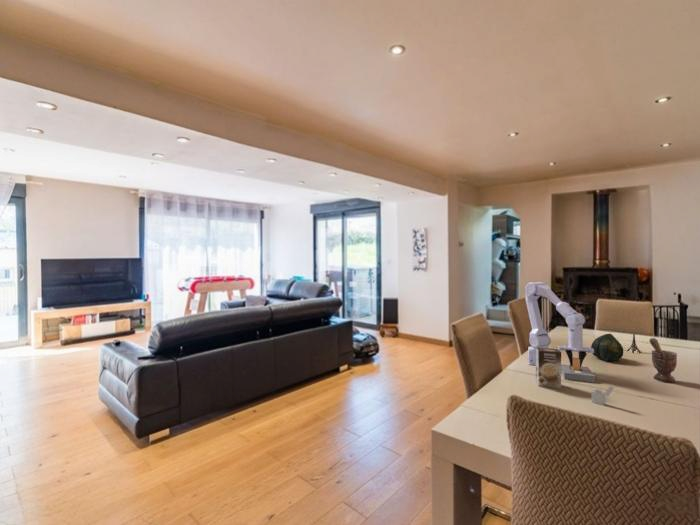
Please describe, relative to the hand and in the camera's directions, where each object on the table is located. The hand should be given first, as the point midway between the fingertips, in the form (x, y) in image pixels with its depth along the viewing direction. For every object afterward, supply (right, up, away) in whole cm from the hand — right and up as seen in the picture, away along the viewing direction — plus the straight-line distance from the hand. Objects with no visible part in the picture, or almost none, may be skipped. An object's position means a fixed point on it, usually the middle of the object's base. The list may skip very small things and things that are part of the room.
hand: (575, 366), depth 168 cm
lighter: (-11, -5, -33) cm, 35 cm away
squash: (+34, -4, +25) cm, 42 cm away
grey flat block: (-1, -4, -2) cm, 5 cm away
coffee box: (-21, -5, -13) cm, 25 cm away
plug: (0, -2, 0) cm, 2 cm away
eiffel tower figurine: (+61, -4, +39) cm, 72 cm away
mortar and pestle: (+34, -4, -9) cm, 36 cm away
